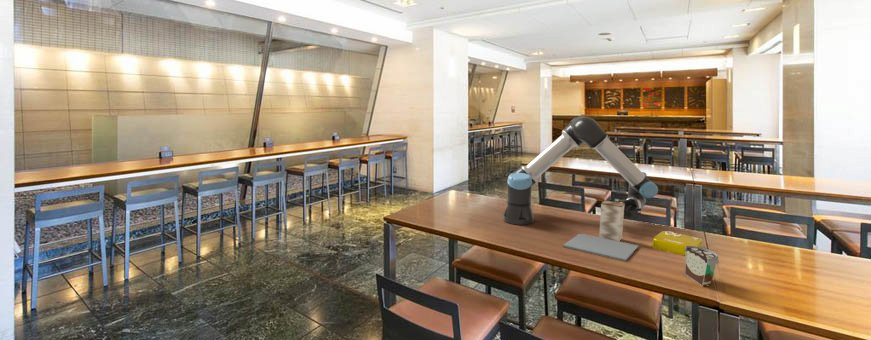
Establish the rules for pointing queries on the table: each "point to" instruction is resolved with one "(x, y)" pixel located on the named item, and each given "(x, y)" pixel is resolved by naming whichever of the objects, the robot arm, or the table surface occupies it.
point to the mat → (602, 246)
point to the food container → (700, 264)
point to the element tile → (675, 242)
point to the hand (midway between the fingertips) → (616, 216)
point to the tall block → (611, 220)
